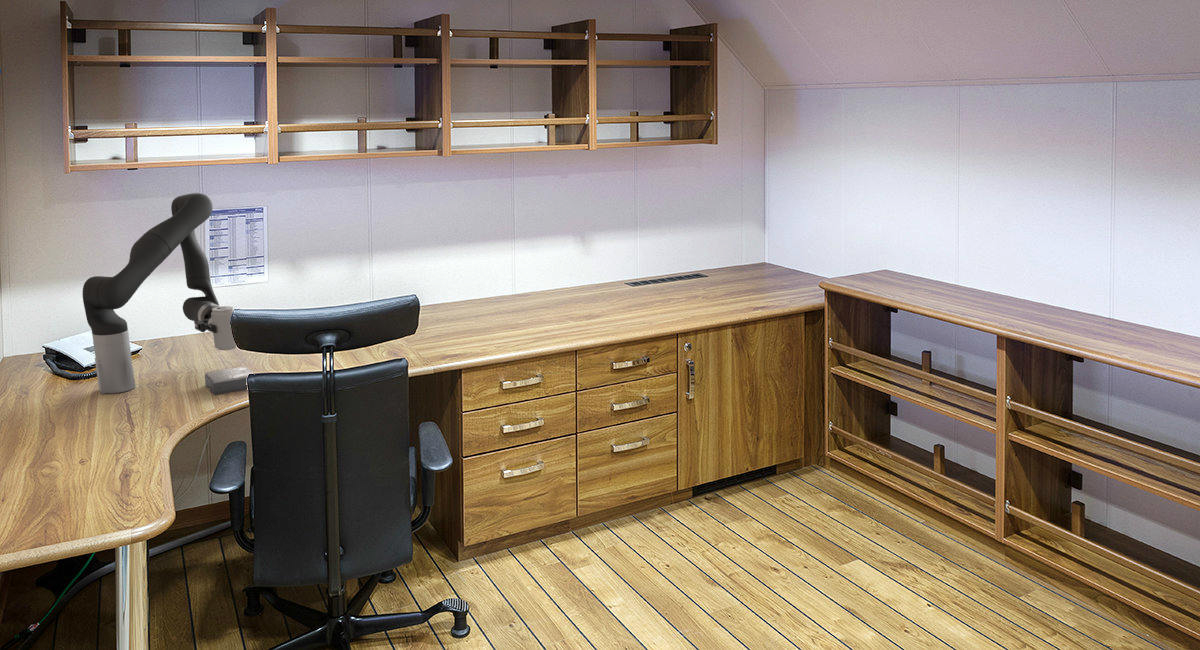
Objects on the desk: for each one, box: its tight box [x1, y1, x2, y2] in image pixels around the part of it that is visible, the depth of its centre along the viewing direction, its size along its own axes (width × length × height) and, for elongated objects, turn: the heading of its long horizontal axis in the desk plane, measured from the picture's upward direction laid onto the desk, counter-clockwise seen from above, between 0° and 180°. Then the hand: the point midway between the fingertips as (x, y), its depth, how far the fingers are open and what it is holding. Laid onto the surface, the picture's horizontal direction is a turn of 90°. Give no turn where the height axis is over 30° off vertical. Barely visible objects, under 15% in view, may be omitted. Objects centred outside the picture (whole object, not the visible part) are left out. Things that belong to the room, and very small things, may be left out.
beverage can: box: [211, 305, 237, 351], centre depth 275 cm, size 6×6×12 cm
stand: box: [204, 366, 254, 396], centre depth 277 cm, size 12×12×4 cm
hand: (226, 327), depth 273 cm, fingers closed on beverage can, 6 cm apart
